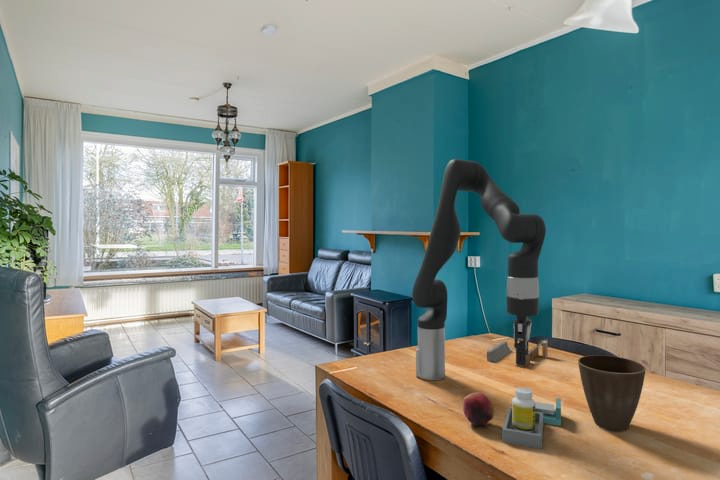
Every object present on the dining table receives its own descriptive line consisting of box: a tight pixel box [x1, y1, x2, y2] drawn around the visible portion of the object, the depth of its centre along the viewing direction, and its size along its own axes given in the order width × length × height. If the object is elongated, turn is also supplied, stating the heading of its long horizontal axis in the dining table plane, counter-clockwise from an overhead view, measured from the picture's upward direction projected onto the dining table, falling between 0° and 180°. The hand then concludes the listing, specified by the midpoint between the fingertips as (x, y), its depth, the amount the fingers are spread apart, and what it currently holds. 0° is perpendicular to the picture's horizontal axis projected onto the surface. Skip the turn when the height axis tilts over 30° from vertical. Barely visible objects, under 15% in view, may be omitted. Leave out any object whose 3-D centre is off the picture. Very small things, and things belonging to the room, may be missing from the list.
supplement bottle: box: [511, 387, 536, 433], centre depth 107 cm, size 5×5×10 cm
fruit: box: [462, 391, 495, 427], centre depth 112 cm, size 8×8×8 cm
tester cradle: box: [543, 397, 562, 427], centre depth 116 cm, size 9×7×4 cm
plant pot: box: [577, 354, 646, 432], centre depth 111 cm, size 15×15×16 cm
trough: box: [501, 407, 544, 450], centre depth 107 cm, size 9×14×3 cm, turn 155°
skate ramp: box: [486, 339, 549, 368], centre depth 165 cm, size 29×35×8 cm
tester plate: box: [535, 401, 555, 415], centre depth 116 cm, size 6×4×1 cm
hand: (522, 359), depth 108 cm, fingers open, 8 cm apart
